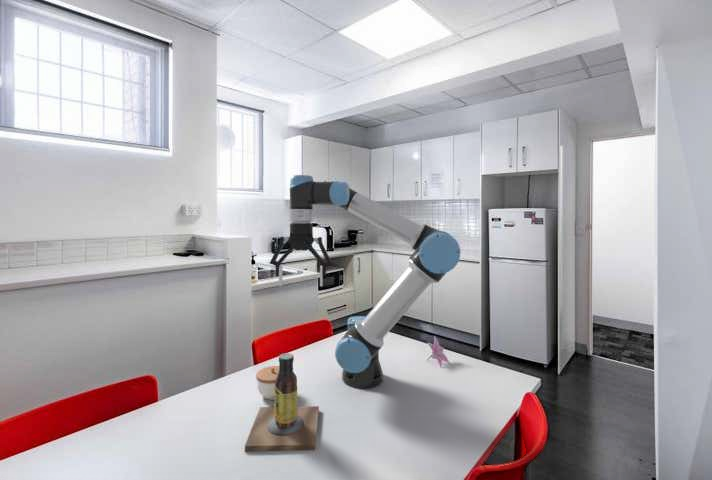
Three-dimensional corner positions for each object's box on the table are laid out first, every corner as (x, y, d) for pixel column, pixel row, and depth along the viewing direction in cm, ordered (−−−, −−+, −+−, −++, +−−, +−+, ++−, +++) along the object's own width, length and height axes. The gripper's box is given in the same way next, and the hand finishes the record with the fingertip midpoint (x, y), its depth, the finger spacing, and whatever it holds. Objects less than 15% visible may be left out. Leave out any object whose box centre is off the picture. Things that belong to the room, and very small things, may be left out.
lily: (426, 372, 139) (439, 354, 136) (412, 351, 149) (424, 333, 146) (447, 375, 145) (459, 358, 142) (432, 354, 155) (444, 337, 152)
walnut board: (318, 410, 109) (319, 405, 109) (315, 450, 91) (315, 443, 91) (260, 411, 108) (260, 406, 108) (244, 451, 90) (244, 444, 90)
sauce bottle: (276, 416, 103) (276, 350, 101) (297, 416, 103) (298, 350, 102) (272, 430, 96) (273, 360, 95) (296, 429, 97) (296, 359, 95)
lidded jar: (281, 405, 112) (281, 377, 111) (250, 401, 114) (250, 373, 114) (293, 388, 123) (293, 362, 122) (265, 385, 125) (265, 359, 124)
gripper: (260, 222, 113) (261, 287, 115) (338, 223, 114) (338, 287, 116) (265, 221, 120) (266, 282, 122) (338, 222, 122) (338, 283, 123)
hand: (301, 285), depth 119 cm, fingers open, 13 cm apart
